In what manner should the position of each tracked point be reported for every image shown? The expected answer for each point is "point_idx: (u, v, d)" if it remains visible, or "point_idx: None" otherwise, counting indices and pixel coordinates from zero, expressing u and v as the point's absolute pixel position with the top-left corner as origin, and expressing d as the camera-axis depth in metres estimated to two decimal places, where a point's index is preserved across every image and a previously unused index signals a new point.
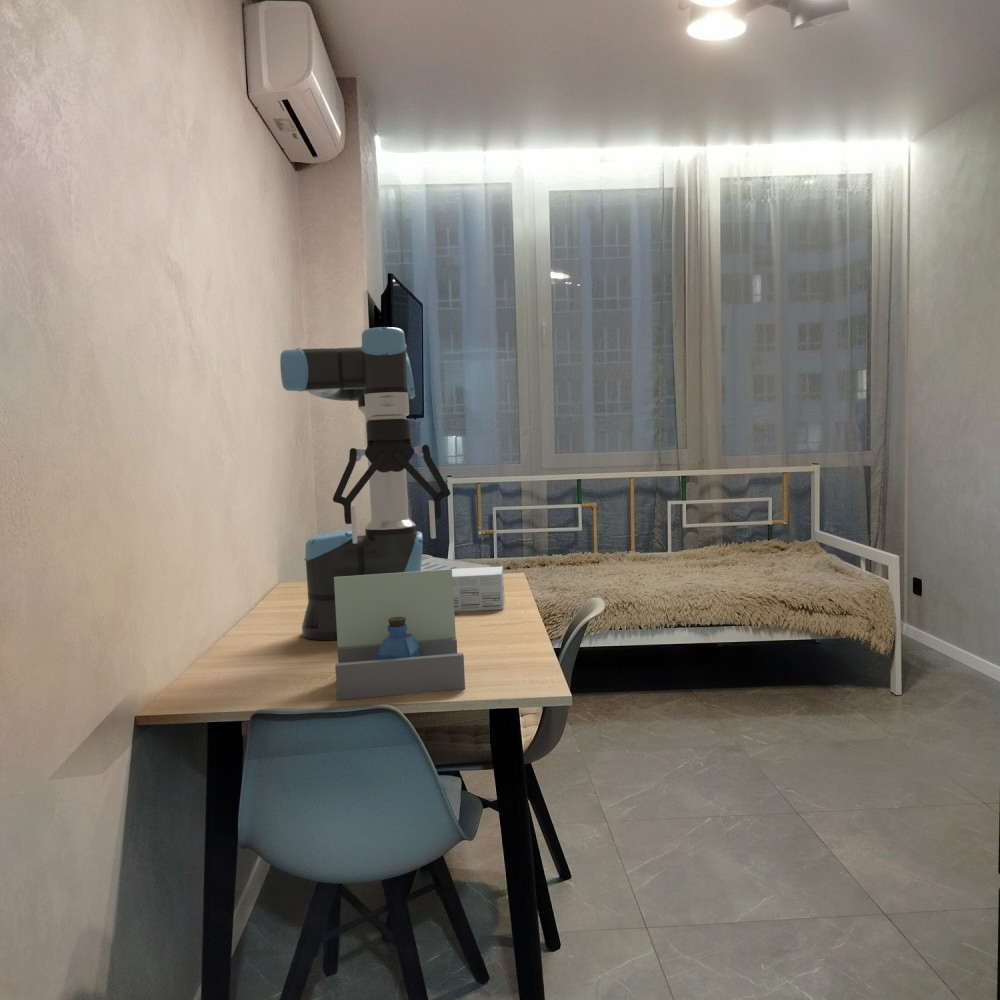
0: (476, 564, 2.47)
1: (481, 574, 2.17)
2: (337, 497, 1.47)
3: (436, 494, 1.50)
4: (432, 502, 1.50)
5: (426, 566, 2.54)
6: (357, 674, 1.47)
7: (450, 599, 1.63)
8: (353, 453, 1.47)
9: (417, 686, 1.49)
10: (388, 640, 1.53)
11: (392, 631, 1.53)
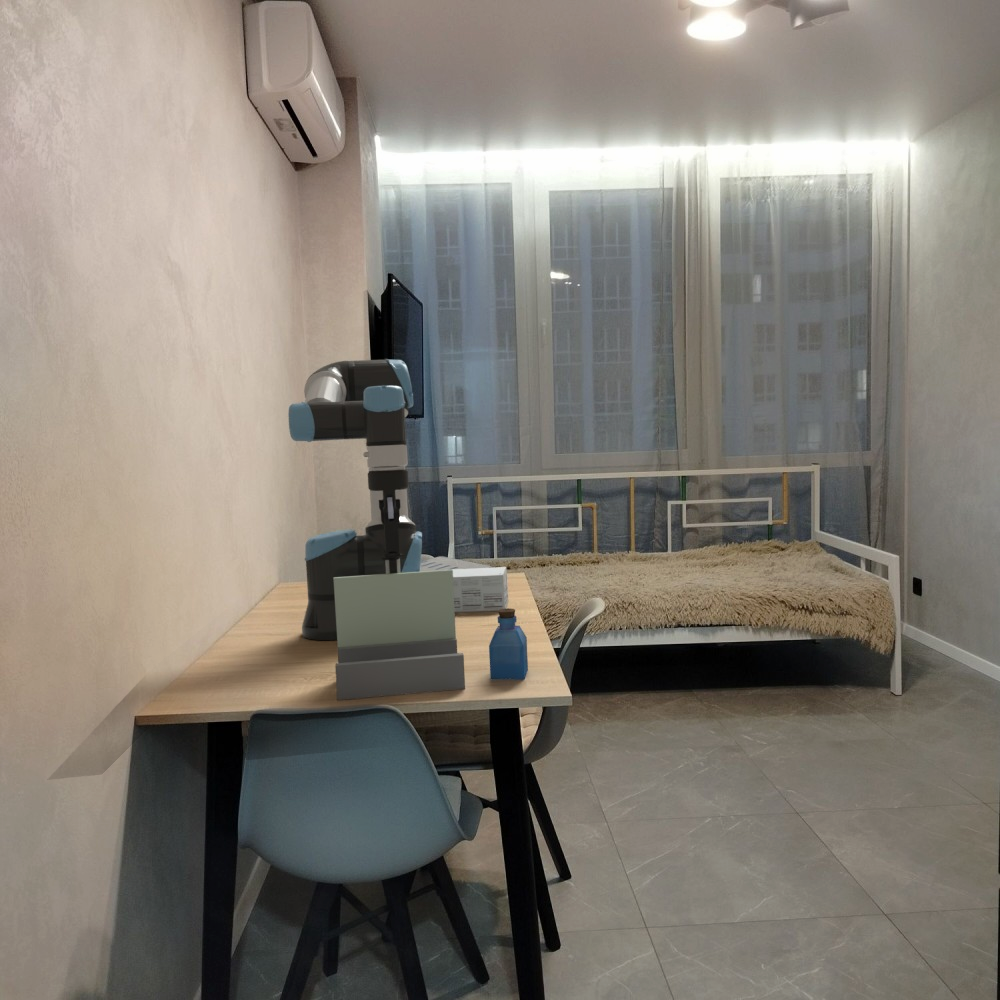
0: (478, 564, 2.47)
1: (483, 575, 2.16)
2: (385, 549, 1.65)
3: None
4: (385, 560, 1.62)
5: (430, 565, 2.56)
6: (357, 674, 1.47)
7: (450, 599, 1.62)
8: None
9: (417, 686, 1.49)
10: (499, 631, 1.56)
11: (503, 622, 1.56)
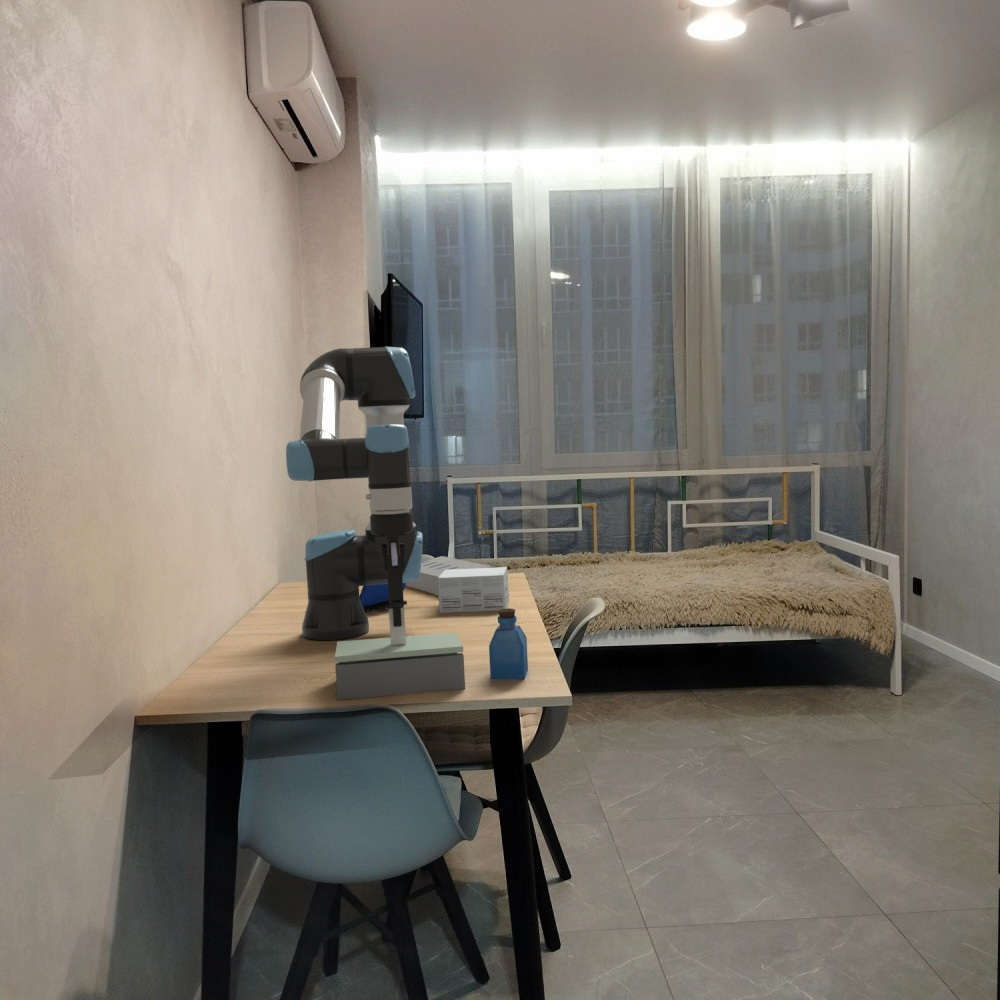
0: (478, 564, 2.47)
1: (483, 575, 2.16)
2: (388, 595, 1.57)
3: None
4: None
5: (431, 565, 2.56)
6: (357, 674, 1.47)
7: None
8: None
9: (417, 686, 1.49)
10: (499, 631, 1.56)
11: (503, 622, 1.56)
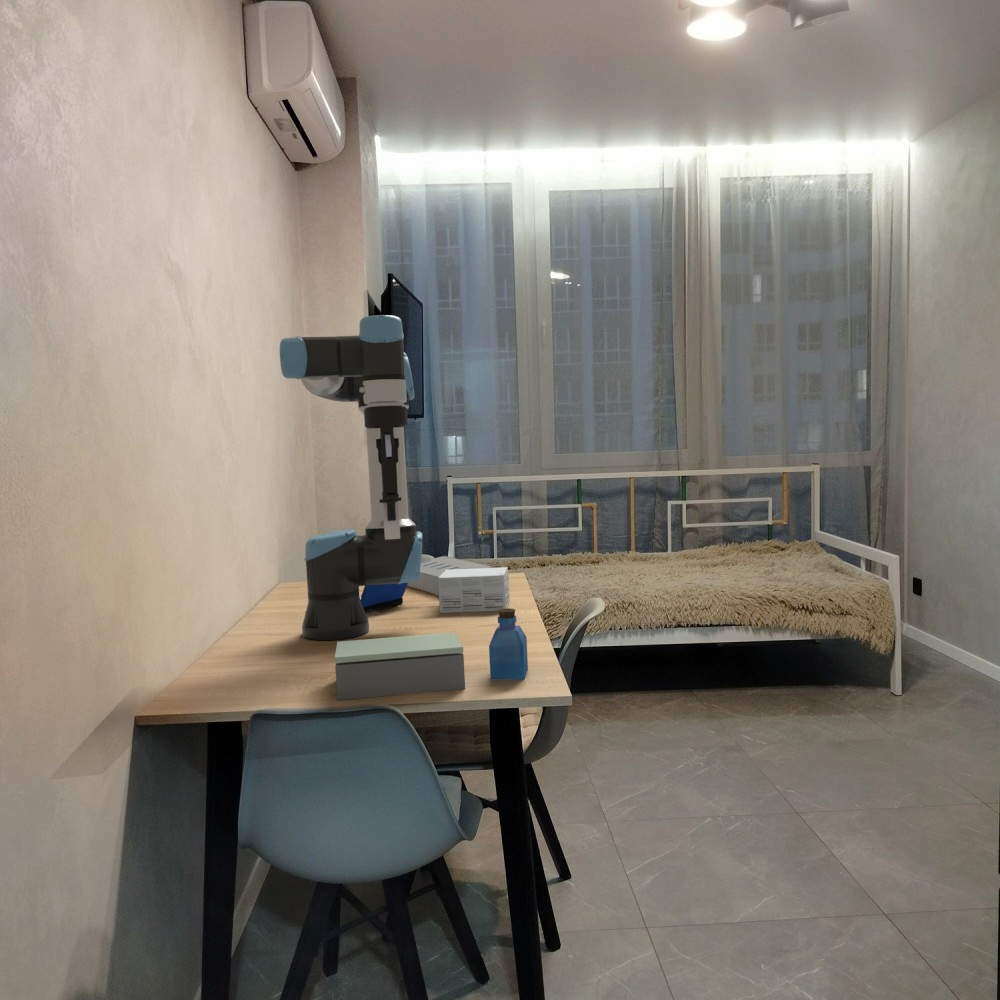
0: (478, 564, 2.47)
1: (484, 575, 2.16)
2: (382, 492, 1.55)
3: None
4: (382, 503, 1.52)
5: (432, 565, 2.56)
6: (357, 674, 1.47)
7: None
8: None
9: (417, 686, 1.49)
10: (499, 631, 1.56)
11: (503, 622, 1.56)
